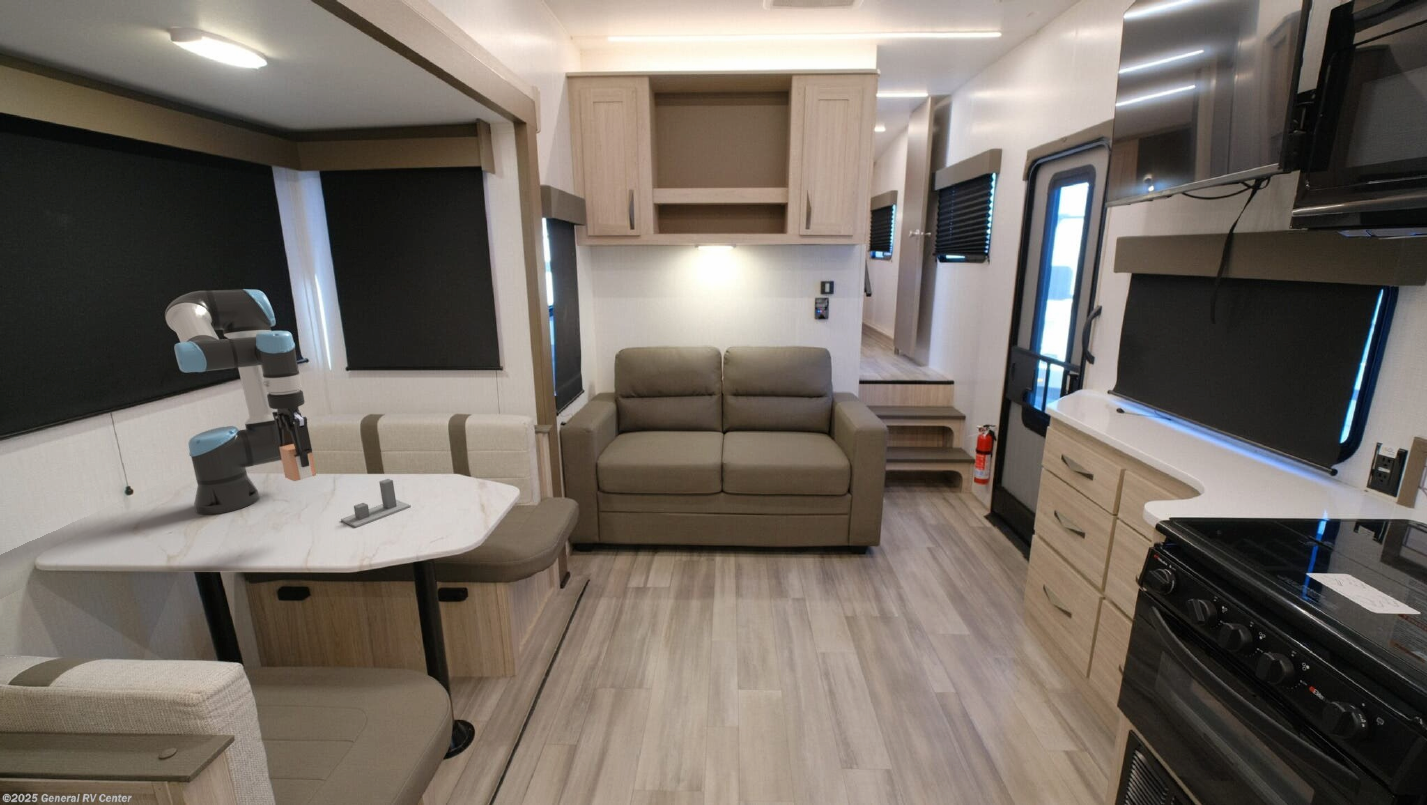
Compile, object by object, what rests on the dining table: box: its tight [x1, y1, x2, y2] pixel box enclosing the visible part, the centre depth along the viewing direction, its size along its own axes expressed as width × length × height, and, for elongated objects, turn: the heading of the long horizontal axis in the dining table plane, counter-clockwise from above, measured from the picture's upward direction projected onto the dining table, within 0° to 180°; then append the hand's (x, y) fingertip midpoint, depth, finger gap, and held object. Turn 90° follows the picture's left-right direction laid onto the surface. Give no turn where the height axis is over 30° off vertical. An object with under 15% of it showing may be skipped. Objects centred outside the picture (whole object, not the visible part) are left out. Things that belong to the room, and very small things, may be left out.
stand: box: [340, 478, 412, 528], centre depth 167 cm, size 8×16×9 cm, turn 149°
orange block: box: [279, 444, 317, 482], centre depth 152 cm, size 5×5×9 cm
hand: (300, 475), depth 153 cm, fingers closed on orange block, 5 cm apart
